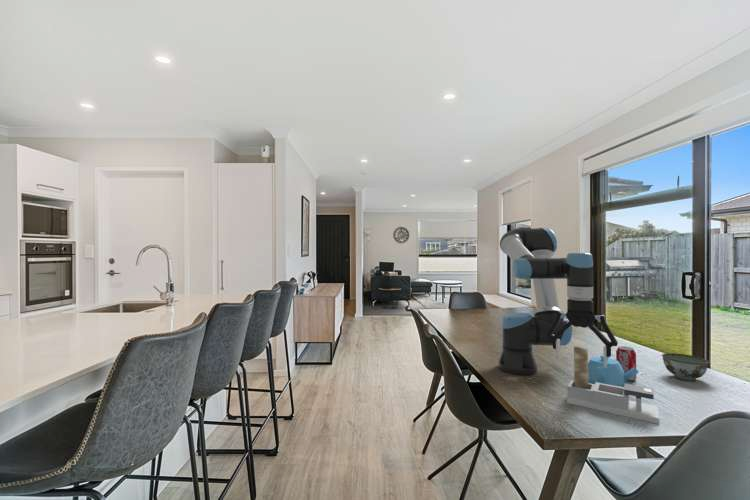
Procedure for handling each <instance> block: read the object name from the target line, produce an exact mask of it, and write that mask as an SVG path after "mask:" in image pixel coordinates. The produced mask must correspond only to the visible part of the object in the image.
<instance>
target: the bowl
mask: <svg viewBox="0 0 750 500" xmlns="http://www.w3.org/2000/svg"><path fill="white" fill-rule="evenodd" d="M661 357H662V361H663V364H664V367H665V368H666V369H667V370H668V372H669V373H671V375H672V374H673V376H674V378H676V379H678V380H681V381H684V382H685V381H686V382H695V381H696V379H700V378H701V377H703V376H704V375H705V374H706V372H707V371H708V366H709V364H710V362H709V360H707V359H706V358H702V357H700V356H696V355H690V354H683V353H677V352H676V353H673V352H672V353H671V352H670V353H669V352H668V353H667V352H666V353H662V354H661ZM667 370H666V371H667Z"/></svg>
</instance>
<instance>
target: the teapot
mask: <svg viewBox="0 0 750 500" xmlns="http://www.w3.org/2000/svg"><path fill="white" fill-rule="evenodd" d="M639 372H640V371H639V370H638V369H637V368H636V369H635V368H634V367H633V368H632V369H630V370H629V371H628V372H626V373H625V374H624V371H623V368H622V366H621V365H620V363H619V361H617V360H616V359H613V358H610V357H607V368H604V357H603V354H601V355H600V356H592V357H591V358H590V359H589V360H588V382H589V383H590V384H595V383H596V382H597V383H603V384H608V385H613V386H619V387H624V385H625V384H626V383H627V382H626V381H627V380H628V379H629V378H631V377H633V376H634V375H636V376H637V374H639Z"/></svg>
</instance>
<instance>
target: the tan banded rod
mask: <svg viewBox="0 0 750 500" xmlns="http://www.w3.org/2000/svg"><path fill="white" fill-rule="evenodd" d="M588 350H589V348H588V347H587V346H581V345H574V346H573V371H574V376H573V377H574V381H575V387H578V388H583V389H588V390H589V382H588V363H589V354H588V353H589V351H588Z"/></svg>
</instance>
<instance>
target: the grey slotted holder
mask: <svg viewBox="0 0 750 500" xmlns="http://www.w3.org/2000/svg"><path fill="white" fill-rule="evenodd" d="M566 402H567V404H571V405H575V406H578V407H579V406H580V407H583V408H588V409H592V410H595V411H596V410H598V411H601V412H606V413H611V414H615V415H619V416H624V417H629V418H632V419H637V420H642V421H645V422H650V423H653V424H660V414H659V406H657V405H654V404H648V403H643V402H642V397H637V396H635V400H630V395H627V394H624V386H623V387H619V386H613V385H608V384H603V383H597V382H596V383H595V384H590V383H589V390H588V389H583V388H578V387H575V381H574V380H572V379H571V380H570V382H569V384H568V385H567V398H566Z"/></svg>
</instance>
